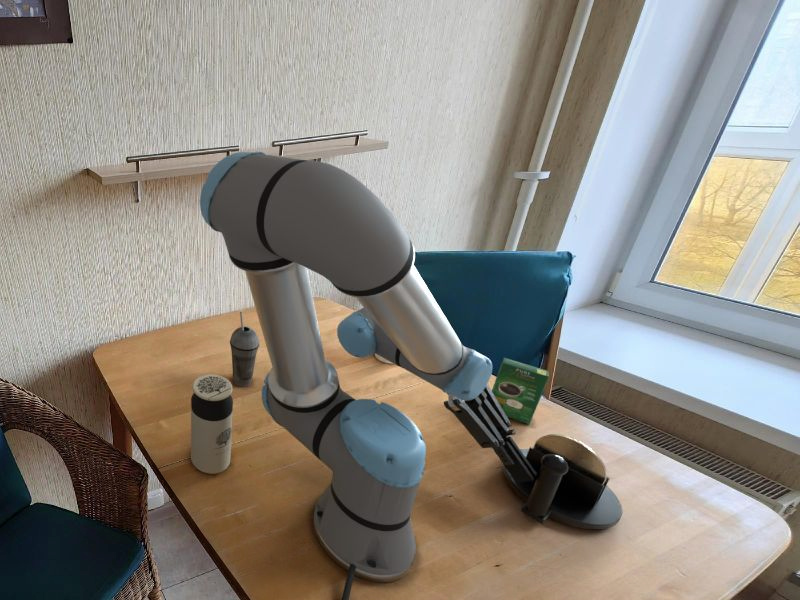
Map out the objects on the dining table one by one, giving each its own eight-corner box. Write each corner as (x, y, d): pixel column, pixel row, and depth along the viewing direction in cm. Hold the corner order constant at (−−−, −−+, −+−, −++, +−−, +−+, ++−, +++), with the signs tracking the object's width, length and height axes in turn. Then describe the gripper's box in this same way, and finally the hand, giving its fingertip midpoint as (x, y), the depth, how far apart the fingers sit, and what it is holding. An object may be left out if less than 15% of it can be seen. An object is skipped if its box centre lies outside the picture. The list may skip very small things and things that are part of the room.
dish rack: (593, 560, 65) (624, 499, 61) (476, 485, 78) (495, 430, 73) (633, 498, 75) (662, 442, 70) (523, 440, 87) (542, 389, 83)
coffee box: (531, 419, 95) (549, 369, 90) (531, 426, 93) (549, 376, 88) (487, 403, 100) (502, 356, 95) (485, 410, 98) (501, 361, 93)
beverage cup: (256, 391, 106) (261, 321, 99) (227, 388, 107) (230, 318, 100) (256, 374, 112) (261, 306, 105) (228, 371, 114) (231, 304, 107)
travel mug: (184, 451, 89) (184, 379, 82) (217, 439, 91) (219, 369, 85) (202, 480, 82) (203, 404, 75) (237, 466, 85) (242, 392, 78)
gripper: (443, 360, 72) (540, 500, 65) (472, 332, 80) (561, 454, 73) (404, 372, 77) (490, 501, 71) (435, 345, 85) (514, 459, 79)
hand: (526, 477), depth 72 cm, fingers closed
